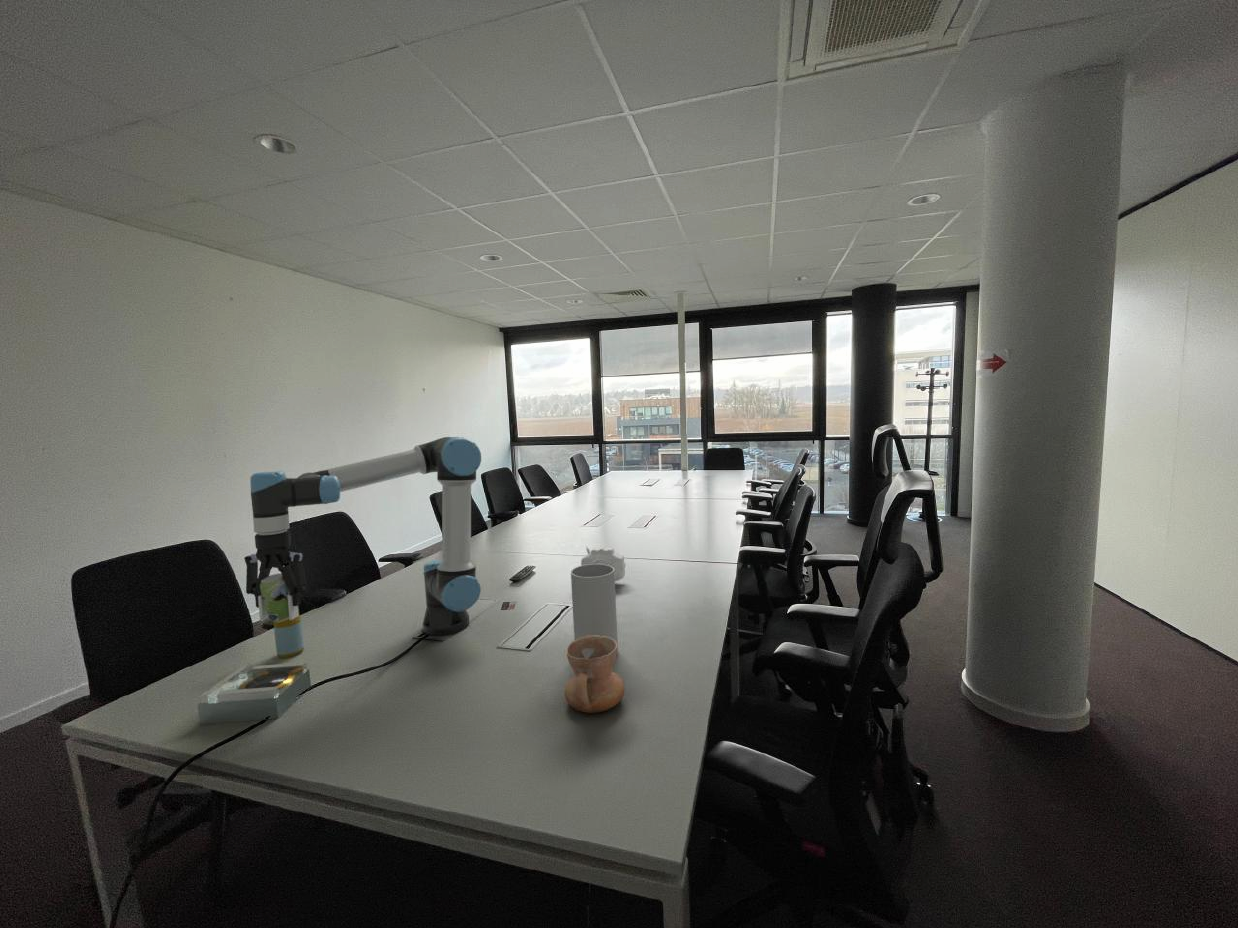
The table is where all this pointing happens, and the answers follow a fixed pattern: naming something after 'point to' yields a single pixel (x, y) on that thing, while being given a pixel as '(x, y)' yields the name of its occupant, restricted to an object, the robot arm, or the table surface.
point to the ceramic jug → (593, 675)
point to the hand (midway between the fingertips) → (279, 618)
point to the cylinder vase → (594, 602)
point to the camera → (606, 560)
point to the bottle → (289, 637)
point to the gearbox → (254, 693)
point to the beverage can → (275, 597)
